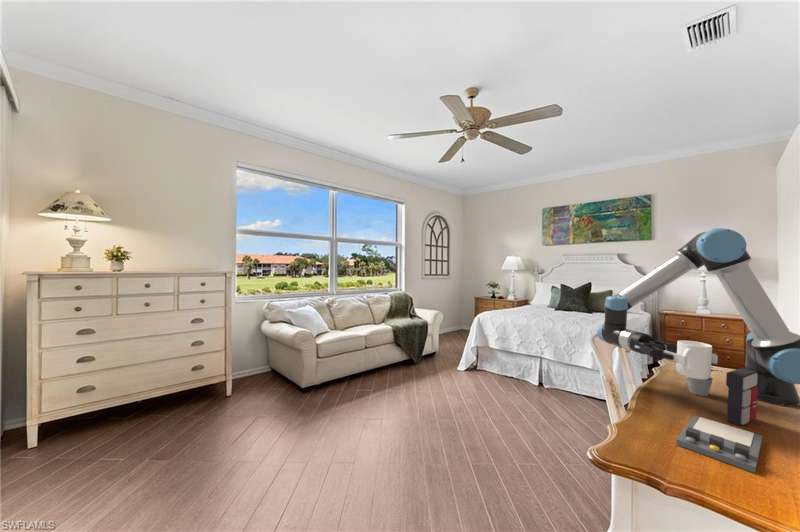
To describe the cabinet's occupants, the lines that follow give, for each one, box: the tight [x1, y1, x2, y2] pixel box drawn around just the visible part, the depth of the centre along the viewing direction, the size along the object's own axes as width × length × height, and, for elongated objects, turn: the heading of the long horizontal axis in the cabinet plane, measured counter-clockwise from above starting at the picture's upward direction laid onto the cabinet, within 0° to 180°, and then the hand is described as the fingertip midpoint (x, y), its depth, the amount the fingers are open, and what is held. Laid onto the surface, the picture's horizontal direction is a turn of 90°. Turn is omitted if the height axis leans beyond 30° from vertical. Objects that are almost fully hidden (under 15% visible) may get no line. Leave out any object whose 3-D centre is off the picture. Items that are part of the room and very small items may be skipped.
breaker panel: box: [676, 415, 763, 474], centre depth 87 cm, size 22×14×4 cm, turn 129°
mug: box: [675, 339, 713, 379], centre depth 103 cm, size 12×8×10 cm
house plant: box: [686, 352, 723, 397], centre depth 121 cm, size 14×14×16 cm
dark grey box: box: [725, 367, 758, 427], centre depth 100 cm, size 11×4×15 cm, turn 117°
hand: (701, 360), depth 101 cm, fingers closed on mug, 11 cm apart
